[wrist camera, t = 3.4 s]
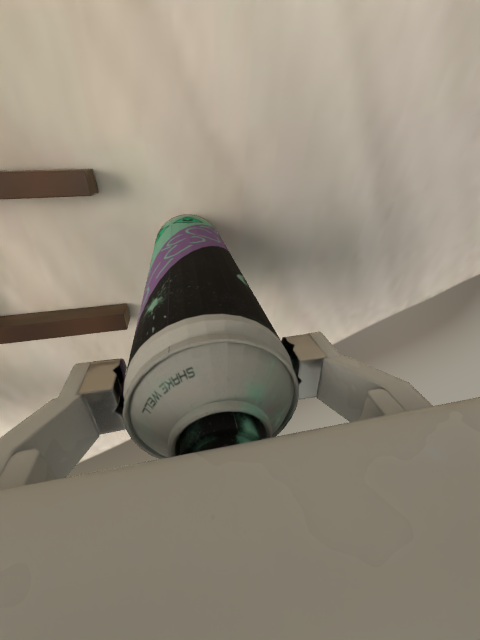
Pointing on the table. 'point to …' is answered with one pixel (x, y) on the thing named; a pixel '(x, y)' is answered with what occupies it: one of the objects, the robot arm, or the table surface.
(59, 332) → the frame
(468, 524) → the robot arm
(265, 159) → the table surface
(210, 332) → the spray can
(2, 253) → the table surface
